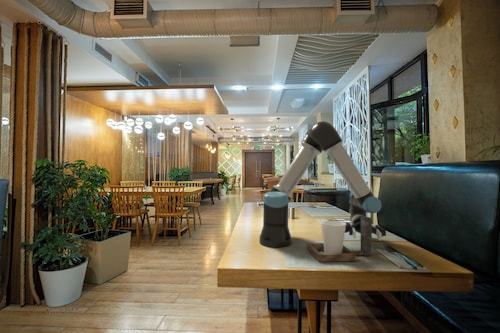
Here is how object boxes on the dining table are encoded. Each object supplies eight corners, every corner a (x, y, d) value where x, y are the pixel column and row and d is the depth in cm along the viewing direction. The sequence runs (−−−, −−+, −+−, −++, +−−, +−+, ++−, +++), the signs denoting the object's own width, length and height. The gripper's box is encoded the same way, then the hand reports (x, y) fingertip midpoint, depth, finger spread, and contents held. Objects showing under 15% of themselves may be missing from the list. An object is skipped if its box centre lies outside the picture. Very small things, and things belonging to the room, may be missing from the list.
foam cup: (328, 249, 105) (329, 219, 105) (349, 255, 98) (349, 223, 98) (316, 254, 99) (316, 222, 99) (337, 261, 92) (338, 226, 92)
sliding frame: (318, 261, 91) (318, 221, 91) (307, 249, 105) (307, 214, 105) (380, 260, 92) (380, 220, 92) (360, 248, 106) (360, 214, 107)
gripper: (385, 233, 113) (398, 248, 91) (337, 229, 120) (338, 242, 98) (385, 217, 113) (398, 228, 92) (337, 214, 120) (338, 223, 98)
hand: (367, 235), depth 95 cm, fingers open, 8 cm apart
